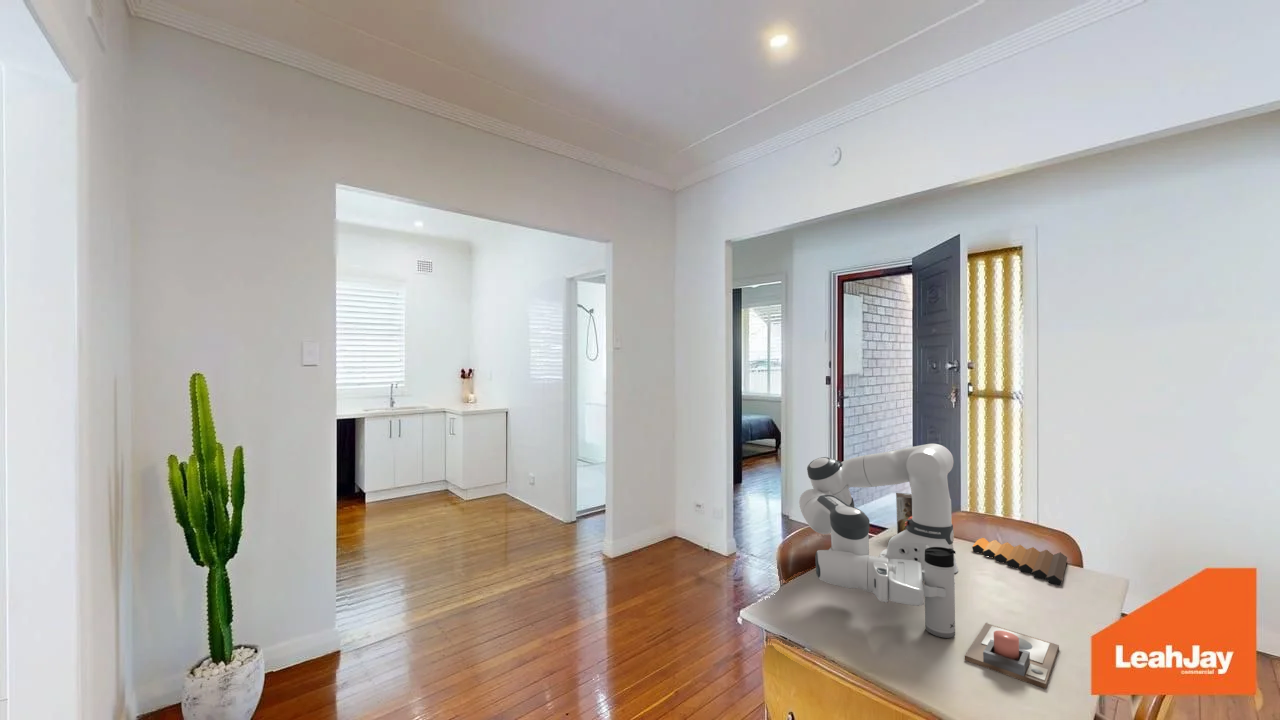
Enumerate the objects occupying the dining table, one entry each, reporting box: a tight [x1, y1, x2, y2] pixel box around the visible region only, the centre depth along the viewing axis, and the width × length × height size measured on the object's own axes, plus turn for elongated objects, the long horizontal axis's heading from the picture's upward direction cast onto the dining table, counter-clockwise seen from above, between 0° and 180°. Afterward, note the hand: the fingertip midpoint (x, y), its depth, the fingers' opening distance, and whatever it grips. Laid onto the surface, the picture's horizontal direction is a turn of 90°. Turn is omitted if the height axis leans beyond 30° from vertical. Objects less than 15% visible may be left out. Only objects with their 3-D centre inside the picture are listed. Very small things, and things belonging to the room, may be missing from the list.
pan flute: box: [971, 537, 1068, 587], centre depth 164 cm, size 25×3×25 cm
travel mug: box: [924, 547, 956, 639], centre depth 121 cm, size 6×7×20 cm
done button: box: [994, 631, 1019, 660], centre depth 107 cm, size 4×4×4 cm
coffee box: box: [895, 492, 912, 535], centre depth 189 cm, size 9×6×16 cm
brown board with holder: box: [964, 622, 1060, 690], centre depth 112 cm, size 14×20×3 cm
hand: (944, 586), depth 121 cm, fingers closed on travel mug, 6 cm apart
